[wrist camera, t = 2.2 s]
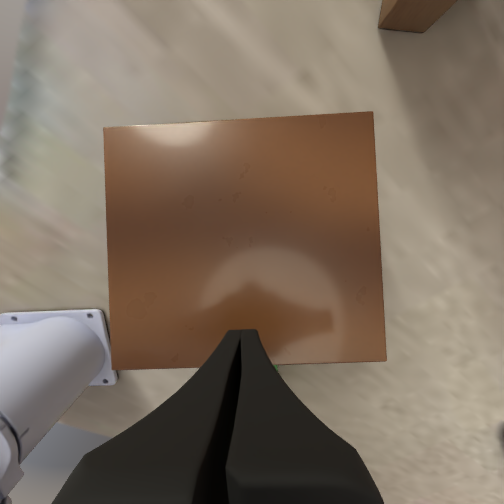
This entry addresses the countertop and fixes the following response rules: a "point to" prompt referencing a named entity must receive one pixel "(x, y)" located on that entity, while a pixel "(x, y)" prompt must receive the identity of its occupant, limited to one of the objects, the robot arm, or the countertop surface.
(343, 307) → the lid
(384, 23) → the wooden toy
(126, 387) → the countertop surface
